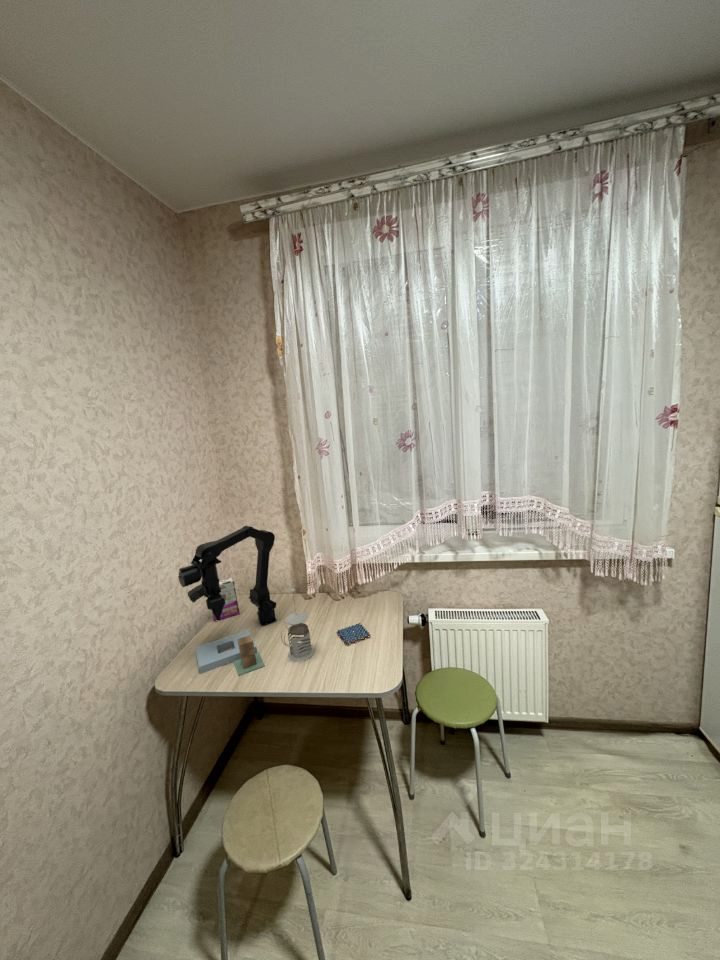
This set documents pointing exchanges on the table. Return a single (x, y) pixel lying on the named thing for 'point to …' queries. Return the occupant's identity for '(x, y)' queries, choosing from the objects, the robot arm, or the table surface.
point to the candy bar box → (228, 599)
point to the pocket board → (212, 659)
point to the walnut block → (247, 651)
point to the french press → (298, 628)
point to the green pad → (243, 671)
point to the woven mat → (352, 634)
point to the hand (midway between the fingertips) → (216, 614)
